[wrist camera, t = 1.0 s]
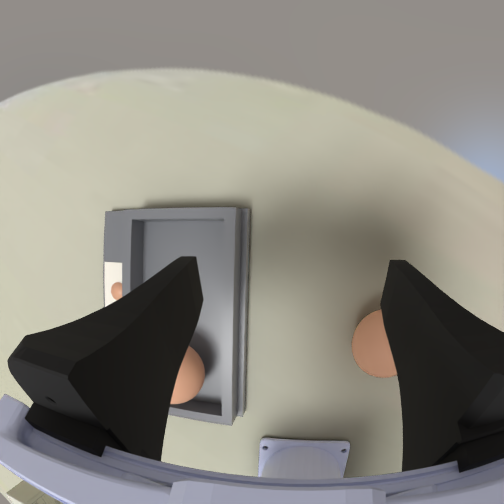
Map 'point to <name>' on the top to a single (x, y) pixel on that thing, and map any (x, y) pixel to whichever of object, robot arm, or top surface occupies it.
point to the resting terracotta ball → (189, 377)
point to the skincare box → (29, 495)
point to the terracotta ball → (373, 347)
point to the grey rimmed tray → (212, 282)
